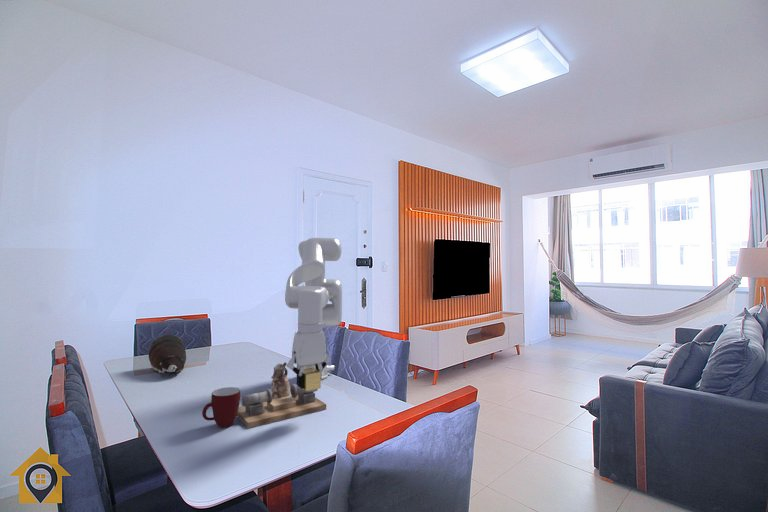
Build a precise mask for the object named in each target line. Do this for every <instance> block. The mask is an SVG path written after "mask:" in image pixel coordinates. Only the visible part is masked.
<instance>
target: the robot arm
mask: <svg viewBox="0 0 768 512" xmlns="http://www.w3.org/2000/svg"><path fill="white" fill-rule="evenodd" d="M297 246H298V247H297V248H298V252H299V257H300V259H301V264H300V265H299V266H297V268H295V269H294V270H293V271H292V272H291V273H290V274H289V276H288V278H287V280H286V284H285V291H284V303H285V305H286V306H287V307H288V308H290V309H295V310H296V309H297V312H298V313H297V332H294V337H293V340H292V349H291V358H290V360H289V361H288V363H287V364H286V367H287V368H288V369H290V371H292V372H293V373H295V374H296V385H298V387H300V388H301V389H303V388H304V376H303V370H304V369H305V368H310V367H313V368H315V369H316V370H318V371H320V372H321V380H324V379H327V378H328V377H329V373H328V372H329V371H334V370H335V365H333V364H332V365H329V362H330V361H331V359H332V358H331V357H330V356H329V354H328V353H327V346H326V344H327V343H326V335H325V333H324V331H323V328H326V326H338V325H340V324H341V322H342V318H343V287H342V283H341V281H340V280H339V279H333V278H330V279H329V278H328V279H327V278H326V261H327V262H337V261H339V260H340V258H341V255H342V244H341V241H340V240H339V239H337V238H333V237H311V238H307V239H306V240H303V241H301V242H299V244H298V245H297ZM303 283H304V285H301V284H303ZM329 302H330V303H329ZM294 364H296V366H295V365H294Z"/></svg>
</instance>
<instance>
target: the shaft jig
mask: <svg viewBox="0 0 768 512" xmlns="http://www.w3.org/2000/svg"><path fill="white" fill-rule="evenodd" d="M318 389H319V388H318ZM318 389H314V390H309V391H305V390H303V389H301V388H300V387H298V385H297V384H295V383H292V384H291V385H290V395H291V396H290V395H289V396H287V397H282V398H278V399H272V392H271V388H267V389H266V390H265V391H261V392H254V393H250V394H244V395H242V396H241V405H242V406H239V408H238V413H237V416H236V417H237V418H238V419H239V420H240V421H241V422H242V423H243V424H244V426H245V427H246V428H247V429H251V428H254V427H255V428H256V427H259V426H262V425H268V424H270V423H275V422H279V421H283V420H288V419H292V418H295V417H300V416H304V415H307V414H312V413H316V412H319V411H324V410H326V409H327V403H325V402H323V401H322V400H321V399H319V398H318V397H316V393H315V392H318Z"/></svg>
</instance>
